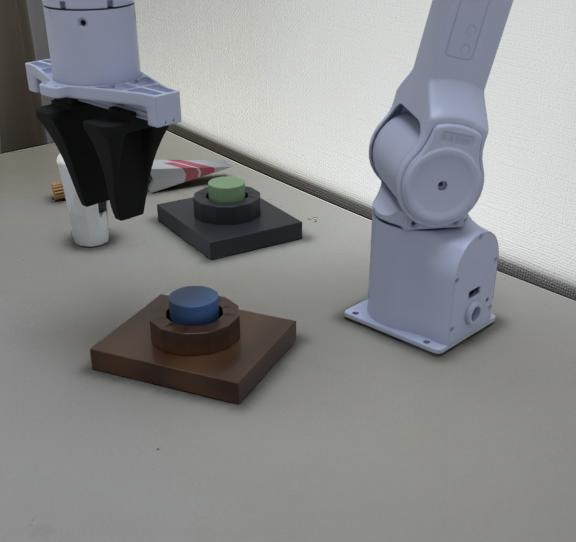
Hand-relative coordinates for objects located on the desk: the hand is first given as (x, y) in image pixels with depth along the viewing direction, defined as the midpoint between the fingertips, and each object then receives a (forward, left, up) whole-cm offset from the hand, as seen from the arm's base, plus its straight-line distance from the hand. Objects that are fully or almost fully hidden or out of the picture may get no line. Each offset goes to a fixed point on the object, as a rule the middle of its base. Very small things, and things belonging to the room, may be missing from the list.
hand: (112, 209), depth 62 cm
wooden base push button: (-6, -2, -10) cm, 12 cm away
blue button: (-6, -2, -7) cm, 10 cm away
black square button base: (+11, -21, -10) cm, 26 cm away
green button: (+11, -21, -7) cm, 25 cm away
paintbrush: (+27, -23, -11) cm, 37 cm away
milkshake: (+18, -10, -11) cm, 23 cm away
